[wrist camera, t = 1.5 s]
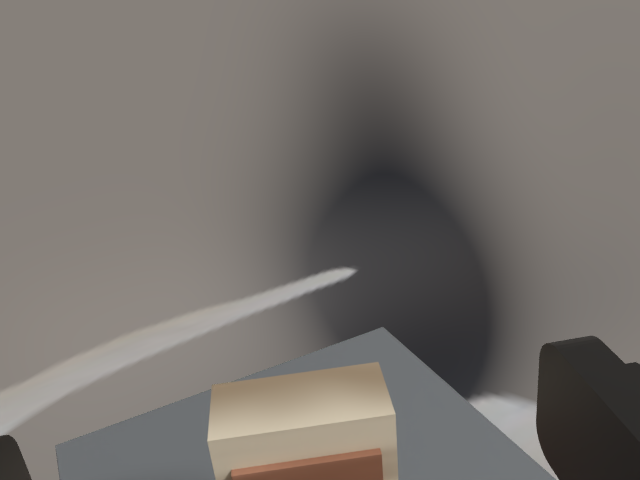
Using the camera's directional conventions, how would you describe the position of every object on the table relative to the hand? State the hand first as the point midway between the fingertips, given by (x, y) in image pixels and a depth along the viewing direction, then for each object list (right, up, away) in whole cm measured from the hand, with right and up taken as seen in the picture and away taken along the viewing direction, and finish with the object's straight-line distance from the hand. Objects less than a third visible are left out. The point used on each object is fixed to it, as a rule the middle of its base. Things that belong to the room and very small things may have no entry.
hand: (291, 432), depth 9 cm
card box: (+1, -14, +18) cm, 22 cm away
